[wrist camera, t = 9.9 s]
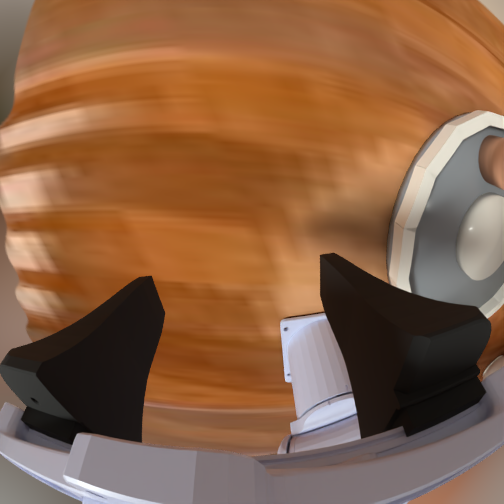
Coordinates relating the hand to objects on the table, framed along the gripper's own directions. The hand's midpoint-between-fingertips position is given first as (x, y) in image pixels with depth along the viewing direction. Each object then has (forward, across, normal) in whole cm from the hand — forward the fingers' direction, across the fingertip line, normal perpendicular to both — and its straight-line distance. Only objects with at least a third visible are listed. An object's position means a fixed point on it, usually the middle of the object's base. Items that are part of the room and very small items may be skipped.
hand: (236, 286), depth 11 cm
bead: (+8, -24, -4) cm, 26 cm away
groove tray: (+9, -24, +4) cm, 26 cm away
